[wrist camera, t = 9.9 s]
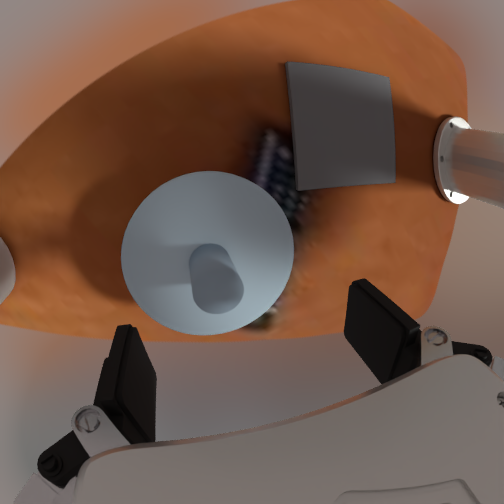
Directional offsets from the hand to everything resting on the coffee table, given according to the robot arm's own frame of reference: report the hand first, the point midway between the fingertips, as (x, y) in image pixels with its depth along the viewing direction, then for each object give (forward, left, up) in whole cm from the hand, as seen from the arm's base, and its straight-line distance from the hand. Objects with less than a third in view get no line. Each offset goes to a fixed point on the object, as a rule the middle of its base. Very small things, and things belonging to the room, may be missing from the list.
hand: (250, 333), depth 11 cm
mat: (-14, -9, -14) cm, 22 cm away
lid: (+1, 0, -9) cm, 9 cm away
